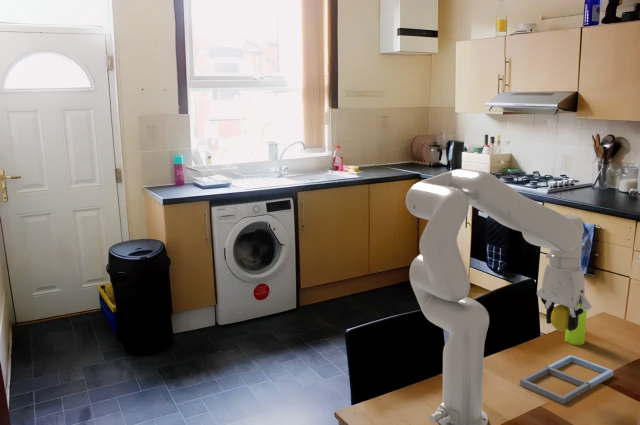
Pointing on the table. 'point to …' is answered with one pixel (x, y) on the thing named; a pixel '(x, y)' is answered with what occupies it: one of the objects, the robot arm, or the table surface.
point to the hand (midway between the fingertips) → (561, 325)
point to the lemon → (560, 317)
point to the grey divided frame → (566, 378)
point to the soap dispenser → (577, 331)
